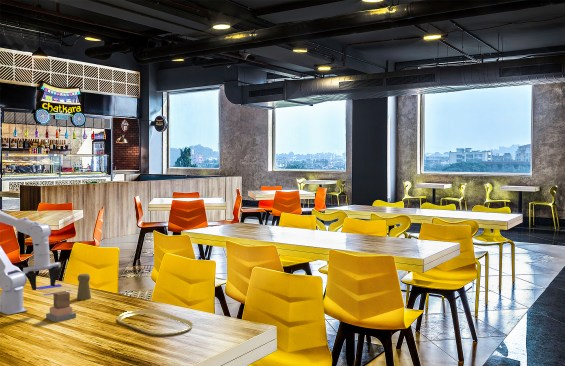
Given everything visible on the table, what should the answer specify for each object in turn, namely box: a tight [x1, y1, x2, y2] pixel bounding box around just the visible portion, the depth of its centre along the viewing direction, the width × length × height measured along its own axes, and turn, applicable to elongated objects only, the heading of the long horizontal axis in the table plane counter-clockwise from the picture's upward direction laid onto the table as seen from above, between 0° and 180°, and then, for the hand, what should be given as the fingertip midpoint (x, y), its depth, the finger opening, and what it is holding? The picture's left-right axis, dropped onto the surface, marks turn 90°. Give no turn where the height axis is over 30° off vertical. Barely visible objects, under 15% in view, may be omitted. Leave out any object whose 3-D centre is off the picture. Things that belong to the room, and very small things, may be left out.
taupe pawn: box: [76, 273, 92, 301], centre depth 241 cm, size 6×6×11 cm
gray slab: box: [45, 311, 77, 323], centre depth 211 cm, size 8×8×2 cm
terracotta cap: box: [49, 305, 73, 316], centre depth 210 cm, size 6×6×2 cm
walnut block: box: [52, 290, 71, 309], centre depth 210 cm, size 4×4×6 cm
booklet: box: [36, 283, 63, 296], centre depth 253 cm, size 12×25×1 cm, turn 40°
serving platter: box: [117, 309, 193, 337], centre depth 204 cm, size 19×35×2 cm, turn 48°
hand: (43, 287), depth 216 cm, fingers open, 7 cm apart
